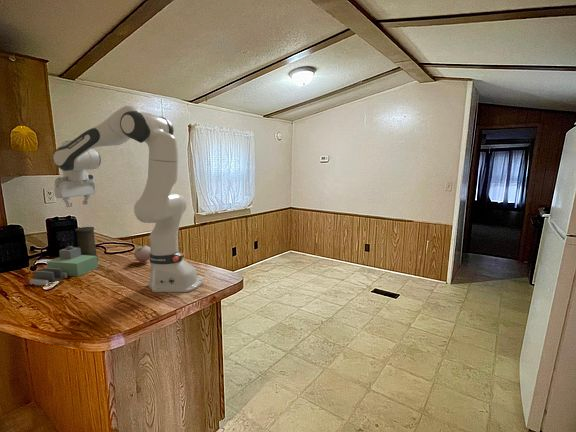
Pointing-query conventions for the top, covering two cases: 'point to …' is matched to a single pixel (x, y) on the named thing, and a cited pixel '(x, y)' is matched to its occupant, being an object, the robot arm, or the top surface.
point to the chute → (49, 274)
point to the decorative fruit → (142, 253)
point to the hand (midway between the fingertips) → (77, 205)
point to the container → (86, 241)
